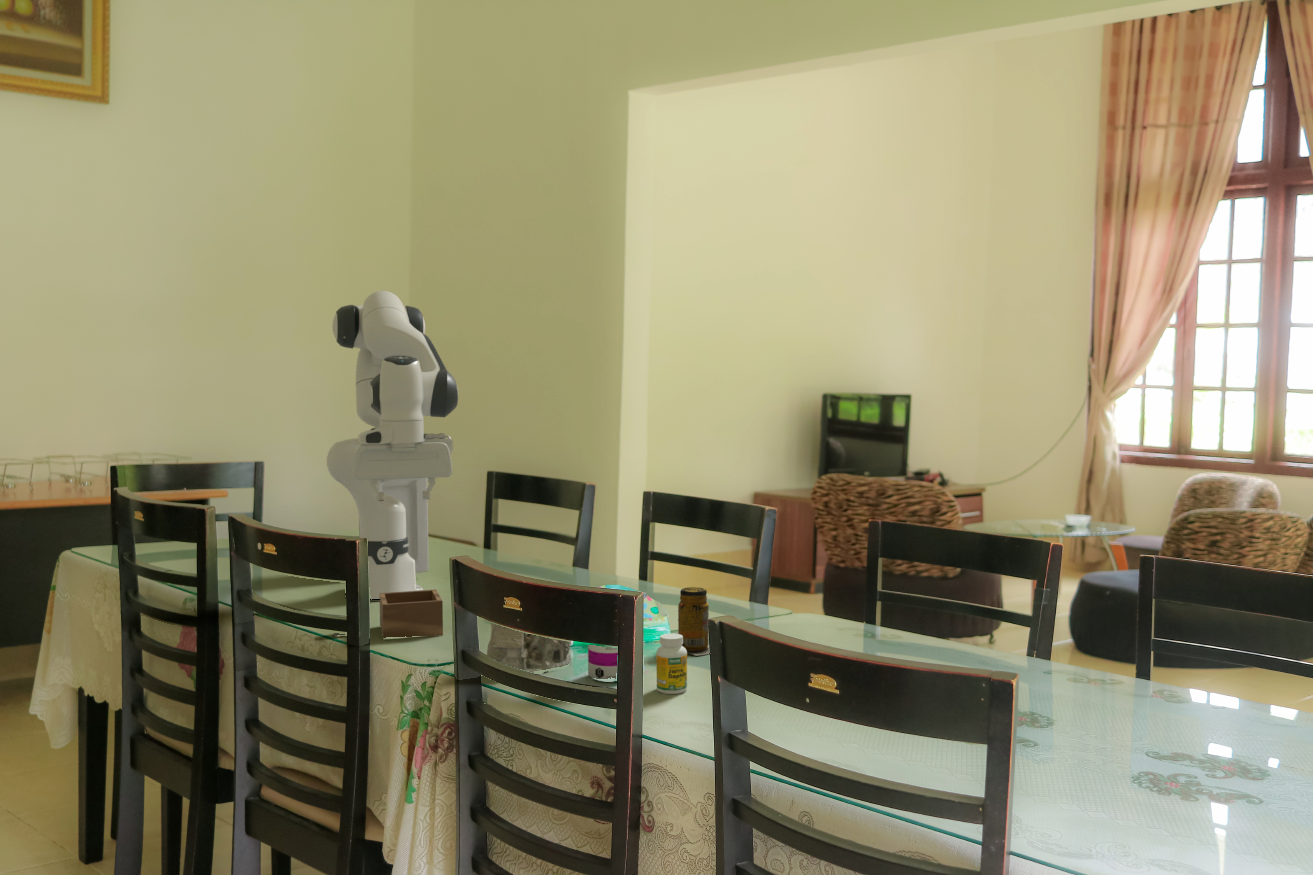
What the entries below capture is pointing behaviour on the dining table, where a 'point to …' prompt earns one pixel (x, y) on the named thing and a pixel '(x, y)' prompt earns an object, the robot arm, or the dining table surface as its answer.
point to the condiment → (694, 620)
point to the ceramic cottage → (527, 650)
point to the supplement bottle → (671, 664)
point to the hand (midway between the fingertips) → (403, 500)
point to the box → (411, 613)
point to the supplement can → (602, 662)
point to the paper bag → (412, 517)
